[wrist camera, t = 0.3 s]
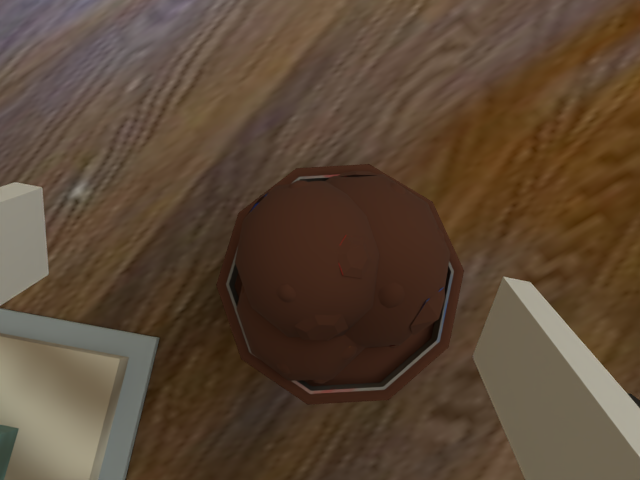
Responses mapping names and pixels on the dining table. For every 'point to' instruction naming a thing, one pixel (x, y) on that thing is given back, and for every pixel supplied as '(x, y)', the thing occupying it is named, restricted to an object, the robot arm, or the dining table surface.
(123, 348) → the mat
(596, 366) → the robot arm
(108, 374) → the lid
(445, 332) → the ice cream bowl
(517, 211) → the dining table surface
